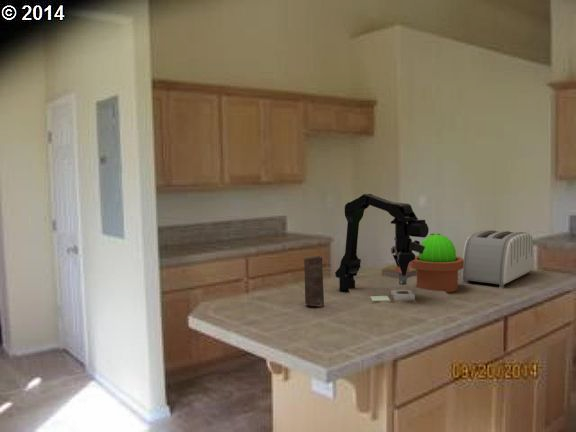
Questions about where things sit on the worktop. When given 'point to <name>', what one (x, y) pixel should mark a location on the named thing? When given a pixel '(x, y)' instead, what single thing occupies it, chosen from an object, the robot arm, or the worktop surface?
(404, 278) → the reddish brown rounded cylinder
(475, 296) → the worktop surface
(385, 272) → the flat patterned box
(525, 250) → the toaster
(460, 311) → the worktop surface
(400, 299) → the block
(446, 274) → the potted cactus
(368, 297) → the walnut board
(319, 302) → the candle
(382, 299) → the rubber pad
